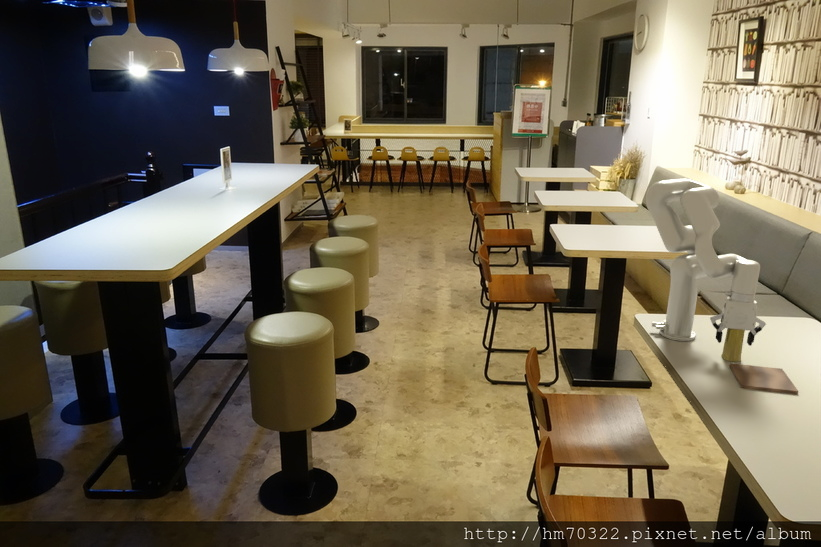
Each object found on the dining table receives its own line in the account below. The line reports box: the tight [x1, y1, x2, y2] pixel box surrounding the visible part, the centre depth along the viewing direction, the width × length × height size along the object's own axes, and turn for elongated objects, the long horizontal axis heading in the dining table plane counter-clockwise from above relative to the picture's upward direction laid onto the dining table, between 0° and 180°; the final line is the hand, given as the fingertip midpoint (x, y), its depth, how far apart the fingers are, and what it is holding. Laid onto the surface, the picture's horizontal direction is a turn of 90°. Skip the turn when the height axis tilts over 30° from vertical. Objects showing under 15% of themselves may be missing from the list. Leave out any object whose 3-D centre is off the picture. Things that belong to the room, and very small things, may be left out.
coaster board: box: [729, 362, 799, 395], centre depth 203 cm, size 16×16×1 cm
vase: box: [721, 328, 746, 363], centre depth 216 cm, size 6×6×14 cm
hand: (733, 342), depth 217 cm, fingers open, 9 cm apart
